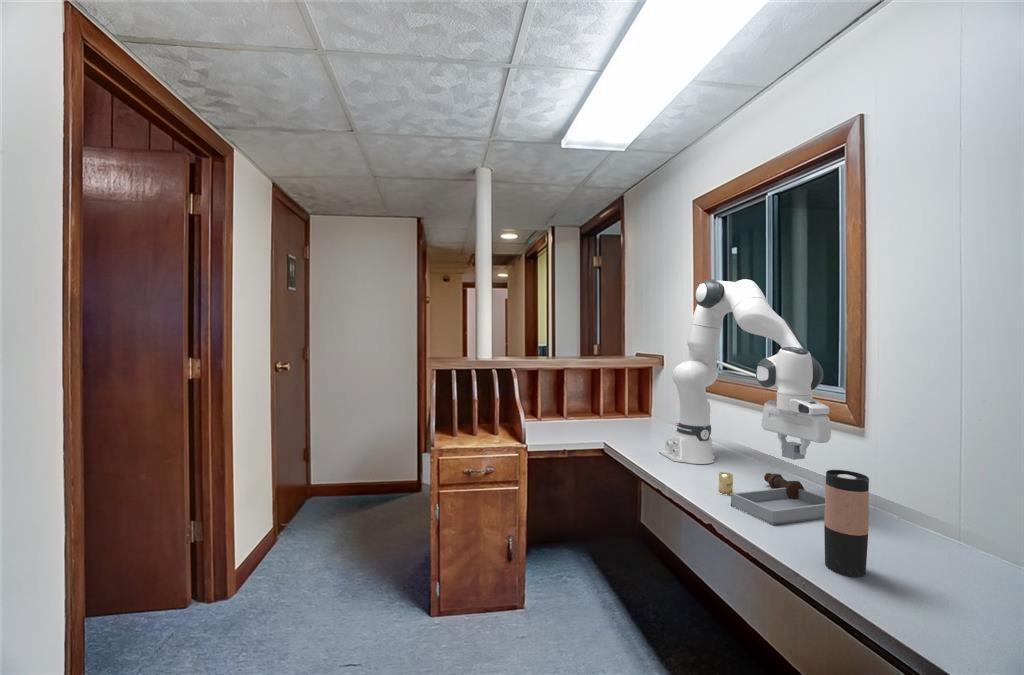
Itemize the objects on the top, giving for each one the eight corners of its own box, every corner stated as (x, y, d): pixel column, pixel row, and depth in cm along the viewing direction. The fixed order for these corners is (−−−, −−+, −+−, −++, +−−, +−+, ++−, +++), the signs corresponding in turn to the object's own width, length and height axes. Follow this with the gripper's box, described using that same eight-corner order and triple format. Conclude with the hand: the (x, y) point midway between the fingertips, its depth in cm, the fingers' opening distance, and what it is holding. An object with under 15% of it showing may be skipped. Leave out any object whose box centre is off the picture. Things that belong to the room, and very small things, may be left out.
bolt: (770, 488, 159) (798, 503, 144) (757, 481, 159) (783, 494, 144) (779, 473, 159) (808, 486, 144) (766, 465, 159) (793, 477, 144)
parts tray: (730, 505, 139) (731, 493, 139) (794, 498, 146) (794, 486, 146) (772, 525, 125) (772, 511, 125) (840, 516, 132) (840, 502, 132)
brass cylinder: (715, 491, 152) (716, 472, 152) (726, 490, 153) (726, 471, 153) (725, 495, 148) (725, 476, 148) (735, 494, 149) (735, 475, 149)
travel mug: (816, 559, 106) (818, 468, 106) (853, 561, 106) (855, 470, 105) (835, 576, 99) (838, 479, 99) (876, 579, 98) (878, 480, 98)
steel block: (781, 456, 140) (782, 442, 140) (792, 455, 142) (792, 441, 142) (793, 459, 136) (794, 445, 136) (804, 458, 138) (804, 444, 138)
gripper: (756, 399, 148) (756, 444, 148) (817, 409, 128) (816, 461, 128) (772, 398, 150) (772, 443, 150) (835, 408, 130) (834, 460, 130)
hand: (793, 451), depth 139 cm, fingers closed on steel block, 4 cm apart
